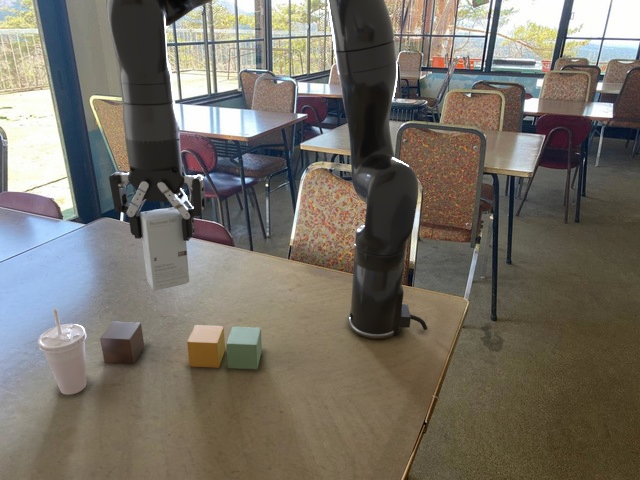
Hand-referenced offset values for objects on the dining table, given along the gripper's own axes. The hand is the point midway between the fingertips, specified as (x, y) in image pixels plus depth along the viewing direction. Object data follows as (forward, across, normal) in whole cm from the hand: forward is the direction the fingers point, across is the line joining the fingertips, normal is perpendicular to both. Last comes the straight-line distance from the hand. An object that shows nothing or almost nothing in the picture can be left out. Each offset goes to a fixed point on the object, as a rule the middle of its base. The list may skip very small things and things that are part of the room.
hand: (163, 237), depth 76 cm
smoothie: (+22, -13, -10) cm, 28 cm away
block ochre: (+22, +6, -2) cm, 23 cm away
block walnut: (+22, -8, -2) cm, 23 cm away
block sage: (+22, +13, -2) cm, 25 cm away
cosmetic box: (+8, 0, 0) cm, 8 cm away
